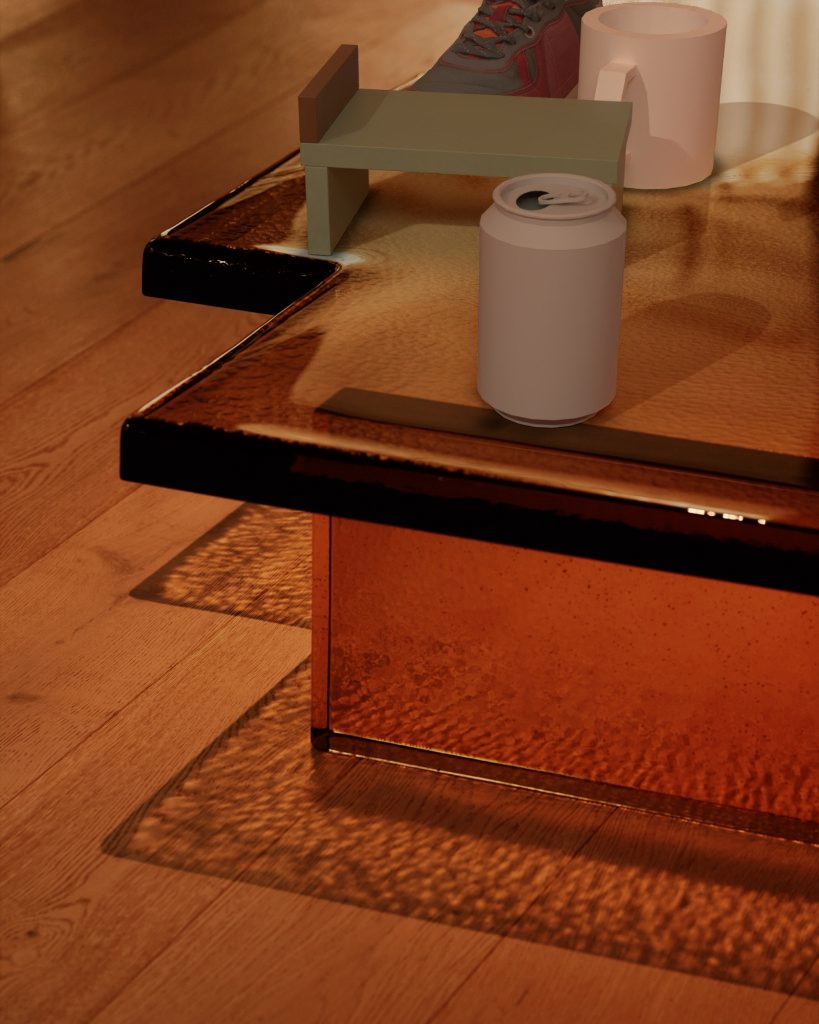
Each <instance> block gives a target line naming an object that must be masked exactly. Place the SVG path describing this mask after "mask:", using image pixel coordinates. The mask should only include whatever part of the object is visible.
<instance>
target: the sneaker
mask: <svg viewBox="0 0 819 1024" xmlns="http://www.w3.org/2000/svg"><path fill="white" fill-rule="evenodd" d="M481 2H482V3H481V5H480V6H479V7H477V12H476V13H475V14H474V15H473V17H471V19H470V20H469V21H467V23H466V24H465V25H463V28H462V30H461V31H460V32H459V35H458V36H457V38H456V39H455V41H454V42H453V43H452V44H451V45H450V46H449V47H448V48H447V49H446V50H445V51H444V52H443V53H442V54H441V56H439V58H438V59H437V60H436V61H435V63H434V64H433V66H431V68H429V69H428V70H427V71H426V72H424V74H423V75H422V76H421V77H420V78H418V79H417V80H416V81H415V82H414V83H412V85H410V87H408V88H407V89H406V91H421V92H441V93H460V94H480V95H500V96H520V97H540V98H560V99H578V83H579V62H580V41H581V20H582V17H583V16H584V14H585V13H586V12H588V11H591V10H593V9H595V8H598V7H603V6H604V3H603V2H604V1H603V0H482V1H481Z"/></svg>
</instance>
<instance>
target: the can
mask: <svg viewBox="0 0 819 1024" xmlns="http://www.w3.org/2000/svg"><path fill="white" fill-rule="evenodd" d="M492 200H493V201H494V202H493V203H492V204H491V205H490V206H489V207H488V208H487V209H486V210H485V211H484V212H483V213H481V216H480V219H479V242H478V245H479V246H478V248H479V249H478V302H477V303H478V305H477V307H478V309H477V364H476V365H477V368H476V370H477V371H476V390H477V392H478V394H479V396H480V398H481V400H483V401H484V402H485V403H486V404H488V405H489V406H491V407H492V408H493V409H494V411H495V412H496V413H497V414H499V415H500V416H501V417H503V418H504V419H506V420H509V421H511V422H513V423H516V424H519V425H524V426H528V427H533V428H550V429H554V428H565V427H570V426H575V425H578V424H581V423H585V422H586V421H588V420H590V419H591V418H593V417H595V416H596V415H597V413H598V412H600V411H601V410H603V409H604V408H606V407H608V406H609V405H610V404H611V402H613V400H614V399H615V397H616V396H617V395H616V394H617V384H618V383H617V380H618V364H619V354H620V353H619V352H620V351H619V350H620V336H621V335H620V334H621V322H622V321H621V320H622V307H623V293H624V292H623V291H624V277H625V262H626V261H625V260H626V249H627V248H626V246H627V234H628V233H627V231H628V220H627V219H626V218H625V216H624V215H623V214H622V212H621V213H620V212H619V211H618V210H617V208H616V207H615V206H614V204H615V203H616V193H615V192H614V190H613V189H612V188H611V187H610V186H609V185H607V184H605V183H603V182H601V181H599V180H596V179H593V178H589V177H586V176H581V175H574V174H567V173H537V174H528V175H523V176H518V177H514V178H508V179H506V180H504V181H502V182H501V183H500V184H498V185H497V186H496V187H494V189H493V191H492Z"/></svg>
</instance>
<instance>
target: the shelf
mask: <svg viewBox="0 0 819 1024" xmlns="http://www.w3.org/2000/svg"><path fill="white" fill-rule="evenodd" d="M359 62H360V61H359V45H358V44H349V43H346V44H345V43H344V44H343V43H341V44H340V45H339V46H338V47H337V49H336V50H335V51H334V52H333V53H332V55H331V56H330V57H329V58H328V59H327V61H326V62H325V63H324V64H323V65H322V67H321V68H320V69H319V70H318V72H317V73H316V74H315V75H314V76H313V78H312V79H310V81H309V82H308V83H307V85H306V86H305V87H304V88H303V90H301V92H300V93H299V94H298V95H297V105H298V107H297V108H298V129H299V132H298V133H299V153H300V155H299V156H300V166H302V167H304V175H305V176H304V179H305V180H304V181H305V203H306V204H305V205H306V224H307V225H306V227H307V229H306V230H307V249H308V250H307V251H308V255H313V256H326V257H327V256H328V257H329V256H331V255H332V254H333V252H334V251H335V249H336V248H337V246H338V244H339V242H340V240H341V239H342V238H343V236H344V234H345V233H346V231H347V230H348V228H349V226H350V225H351V223H352V222H353V219H354V218H355V216H356V214H357V213H358V212H359V210H360V208H361V207H362V205H363V203H364V202H365V200H366V198H367V197H368V195H369V193H370V170H371V171H386V172H387V171H388V172H404V173H405V172H406V173H420V174H422V173H423V174H437V175H442V174H443V175H454V176H470V177H471V176H474V177H488V178H489V177H490V178H506V179H511V178H514V177H518V176H523V175H528V174H537V173H567V174H574V175H581V176H586V177H589V178H593V179H596V180H599V181H601V182H603V183H605V184H607V185H609V186H610V187H611V188H612V189H613V190H614V192H615V193H616V203H615V204H614V206H615V207H616V208H617V210H618V211H619V212H620V213H621V214H622V210H623V205H624V203H623V202H624V174H625V158H626V144H627V140H628V136H629V132H630V127H631V123H632V108H633V102H620V101H600V100H580V99H560V98H540V97H520V96H500V95H480V94H460V93H441V92H421V91H407V90H398V89H397V90H396V89H381V88H379V89H378V88H362V87H361V88H360V73H359V72H360V68H359V67H360V65H359V64H360V63H359Z"/></svg>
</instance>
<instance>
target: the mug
mask: <svg viewBox="0 0 819 1024" xmlns="http://www.w3.org/2000/svg"><path fill="white" fill-rule="evenodd" d="M727 27H728V21H727V19H726V18H725V17H724V16H723V15H722V14H719V13H717V12H716V11H713V10H711V9H708V8H704V7H700V6H697V5H696V6H695V5H690V4H684V3H683V4H682V3H675V2H661V1H633V2H631V1H630V2H622V3H613V4H608V5H607V4H606V5H603V7H598V8H595V9H593V10H591V11H588V12H586V13H585V14H584V16H583V17H582V20H581V41H580V62H579V83H578V99H580V100H600V101H620V102H633V108H632V123H631V127H630V132H629V136H628V140H627V144H626V158H625V174H624V188H626V189H635V190H669V189H675V188H682V187H683V188H684V187H688V186H691V185H693V184H697V183H700V182H702V181H704V180H706V179H707V178H708V177H710V176H711V175H712V173H713V170H714V166H715V165H714V164H715V155H716V145H717V144H716V143H717V135H718V134H717V132H718V124H719V123H718V121H719V113H720V112H719V111H720V103H721V102H720V101H721V93H722V92H721V91H722V81H723V80H722V79H723V70H724V59H725V48H726V38H727Z"/></svg>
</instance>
